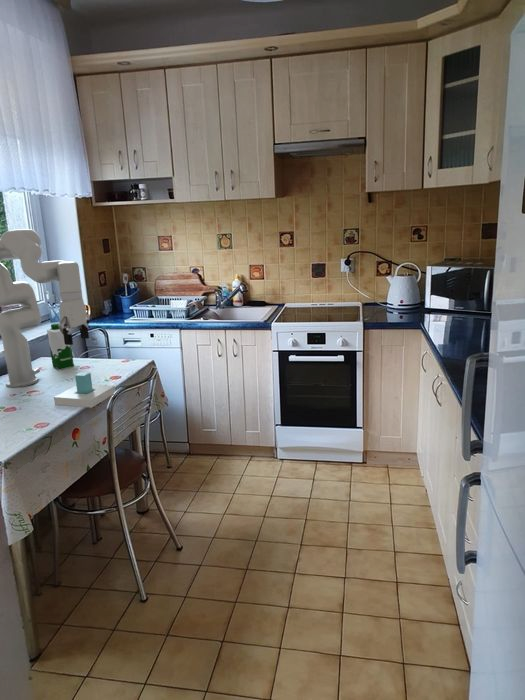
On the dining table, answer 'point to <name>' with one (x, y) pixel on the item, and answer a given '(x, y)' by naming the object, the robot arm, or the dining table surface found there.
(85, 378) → the plug
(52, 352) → the milk carton
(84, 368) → the dining table surface
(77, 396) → the white square-hole board
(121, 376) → the dining table surface
